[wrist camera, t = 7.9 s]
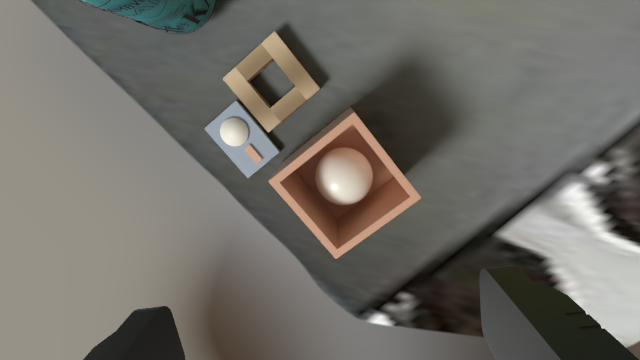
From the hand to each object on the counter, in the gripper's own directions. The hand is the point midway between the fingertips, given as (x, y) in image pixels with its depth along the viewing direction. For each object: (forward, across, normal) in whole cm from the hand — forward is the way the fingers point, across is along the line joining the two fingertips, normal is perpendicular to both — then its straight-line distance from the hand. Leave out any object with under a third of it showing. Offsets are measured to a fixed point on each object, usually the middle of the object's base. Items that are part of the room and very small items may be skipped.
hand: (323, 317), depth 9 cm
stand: (+25, +4, -6) cm, 26 cm away
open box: (+25, -1, +2) cm, 25 cm away
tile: (+25, +8, -2) cm, 26 cm away
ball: (+22, -1, +2) cm, 22 cm away
